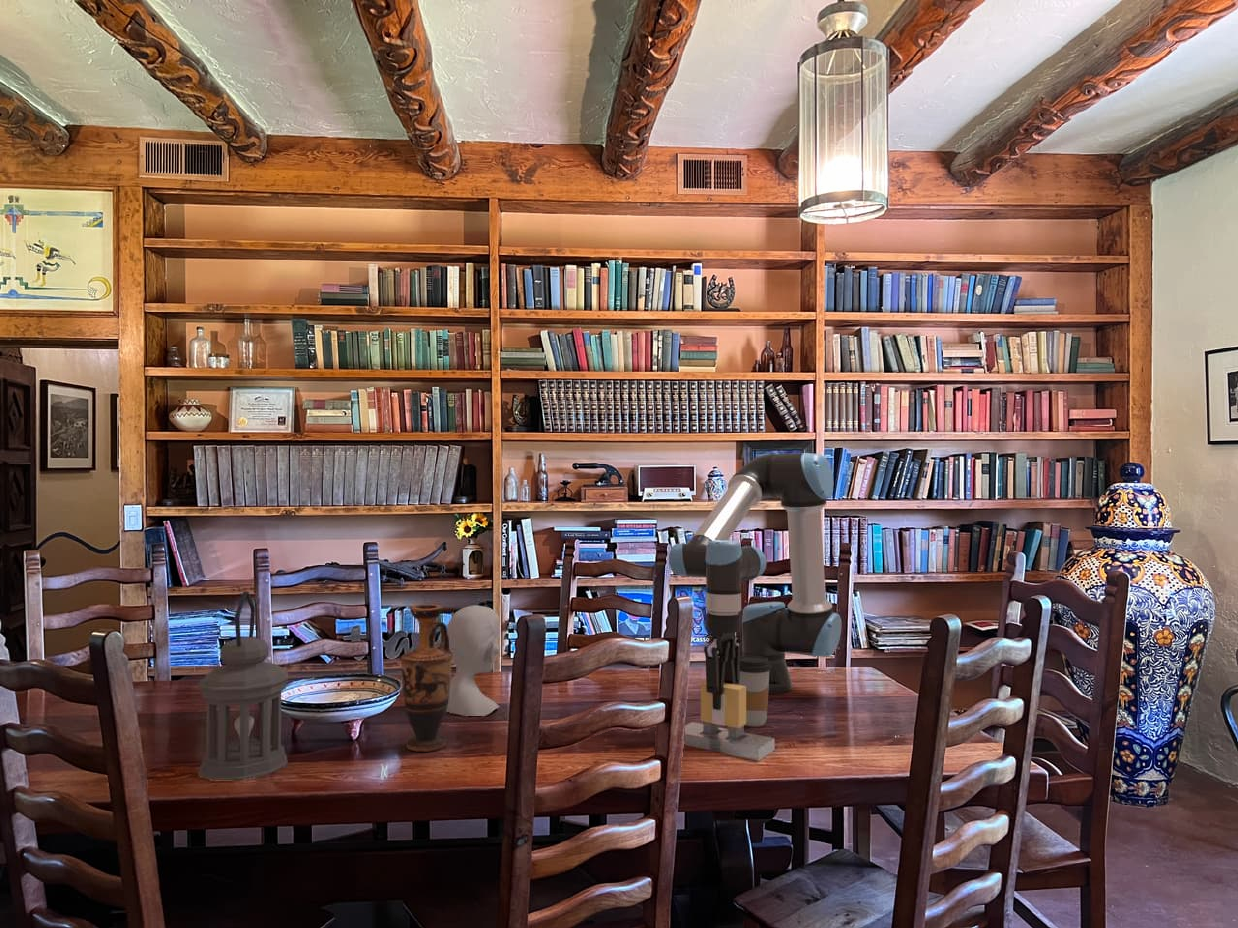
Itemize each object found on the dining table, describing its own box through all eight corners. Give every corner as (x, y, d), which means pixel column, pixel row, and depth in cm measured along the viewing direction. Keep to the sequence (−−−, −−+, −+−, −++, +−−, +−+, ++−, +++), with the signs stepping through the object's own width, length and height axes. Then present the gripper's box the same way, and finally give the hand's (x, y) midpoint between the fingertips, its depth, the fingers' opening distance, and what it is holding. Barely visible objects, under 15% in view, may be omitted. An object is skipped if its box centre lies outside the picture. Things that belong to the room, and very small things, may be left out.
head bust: (529, 701, 207) (529, 604, 208) (478, 720, 191) (478, 615, 191) (467, 689, 219) (467, 597, 219) (414, 706, 203) (414, 607, 203)
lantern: (284, 776, 155) (285, 595, 155) (187, 786, 150) (189, 599, 151) (293, 748, 171) (294, 584, 171) (206, 756, 166) (208, 587, 167)
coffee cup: (770, 729, 184) (770, 663, 184) (733, 726, 186) (733, 662, 186) (770, 718, 192) (770, 655, 193) (735, 716, 194) (735, 654, 194)
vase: (406, 757, 165) (407, 612, 166) (395, 742, 175) (396, 604, 175) (458, 749, 170) (458, 608, 171) (444, 735, 180) (445, 601, 180)
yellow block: (700, 730, 173) (700, 683, 174) (708, 726, 176) (708, 680, 176) (738, 738, 168) (738, 689, 168) (746, 734, 171) (746, 686, 171)
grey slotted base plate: (674, 742, 175) (674, 731, 175) (692, 733, 181) (691, 721, 181) (758, 760, 163) (758, 748, 163) (774, 749, 170) (774, 738, 170)
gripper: (725, 605, 182) (725, 709, 181) (689, 615, 168) (689, 728, 168) (755, 608, 178) (755, 715, 177) (721, 619, 164) (721, 734, 163)
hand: (723, 721), depth 172 cm, fingers closed on yellow block, 4 cm apart
